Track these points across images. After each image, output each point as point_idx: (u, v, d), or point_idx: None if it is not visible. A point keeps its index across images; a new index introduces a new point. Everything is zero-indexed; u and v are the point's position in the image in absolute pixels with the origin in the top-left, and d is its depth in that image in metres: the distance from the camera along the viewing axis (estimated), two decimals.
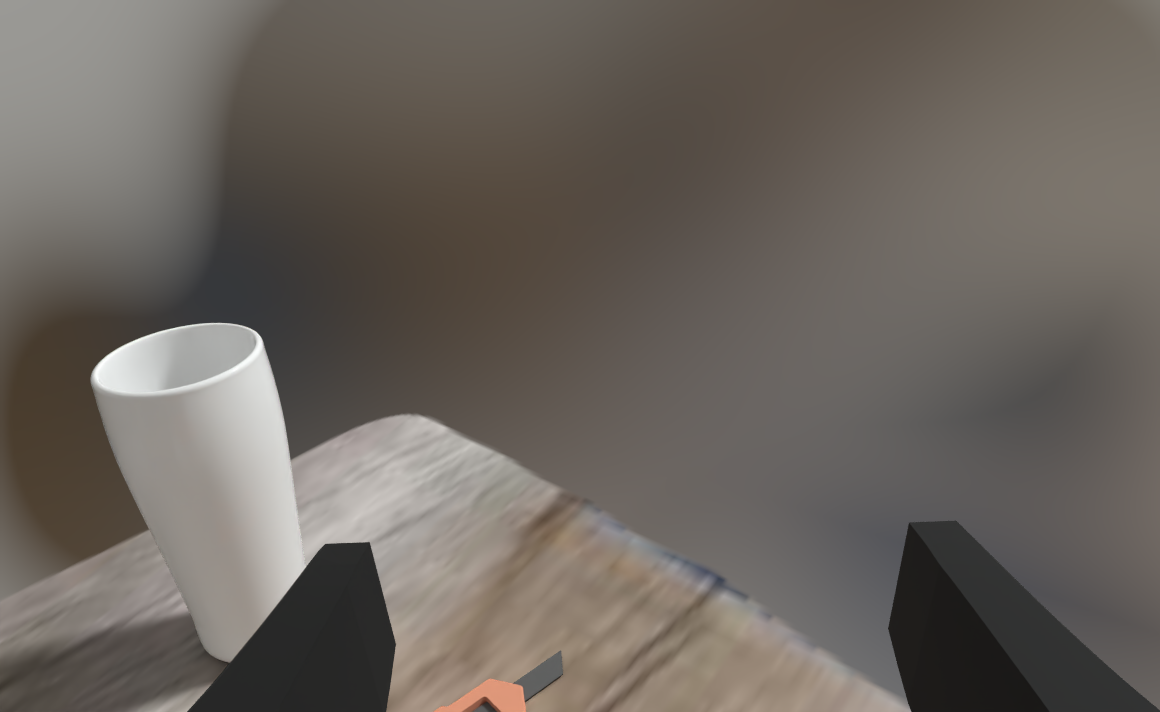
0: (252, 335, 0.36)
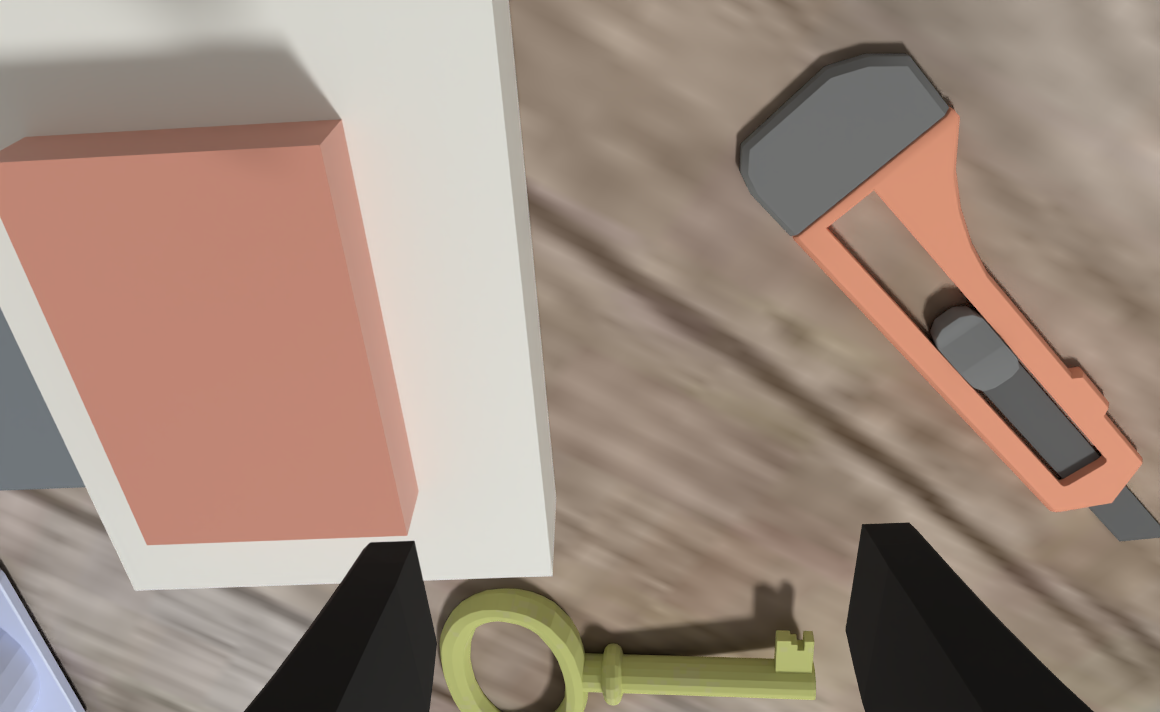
0: None
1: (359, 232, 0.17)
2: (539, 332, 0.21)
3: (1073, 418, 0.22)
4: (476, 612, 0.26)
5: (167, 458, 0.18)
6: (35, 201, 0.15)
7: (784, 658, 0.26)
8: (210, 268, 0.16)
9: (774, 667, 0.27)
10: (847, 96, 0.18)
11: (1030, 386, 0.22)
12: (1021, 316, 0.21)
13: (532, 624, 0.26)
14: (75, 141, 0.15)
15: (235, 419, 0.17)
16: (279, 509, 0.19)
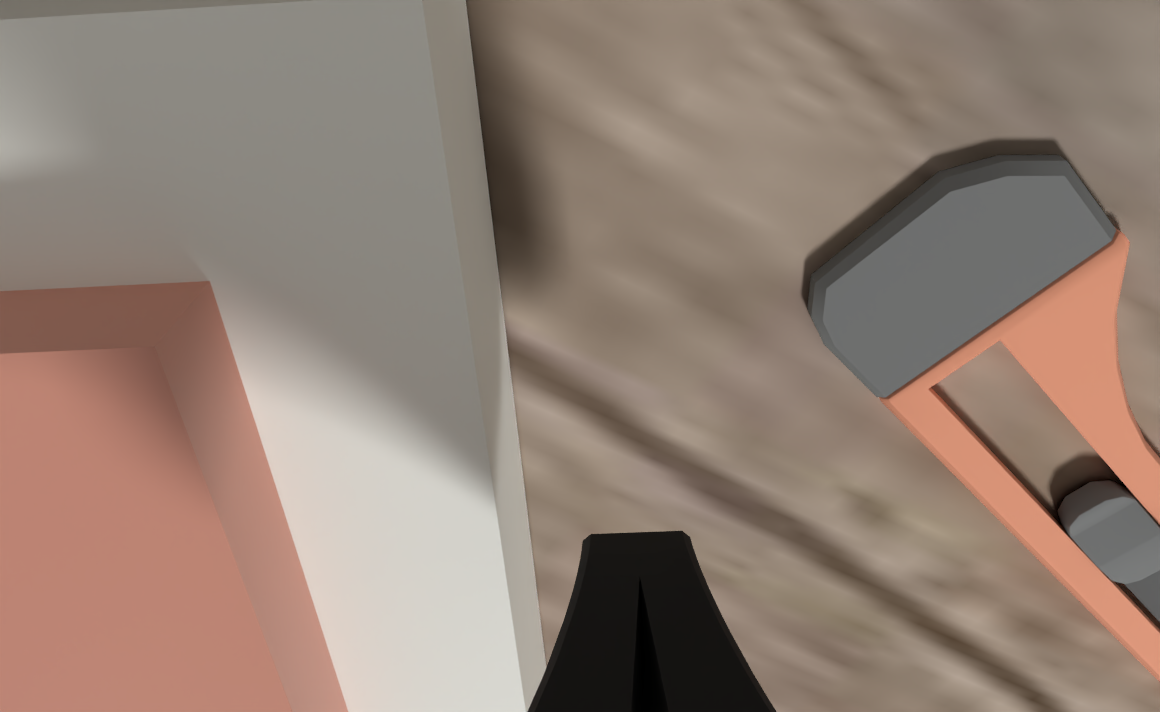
0: None
1: (247, 440, 0.11)
2: (525, 513, 0.16)
3: None
4: None
5: None
6: None
7: None
8: (4, 514, 0.10)
9: None
10: (973, 217, 0.12)
11: None
12: None
13: None
14: None
15: (72, 698, 0.12)
16: None
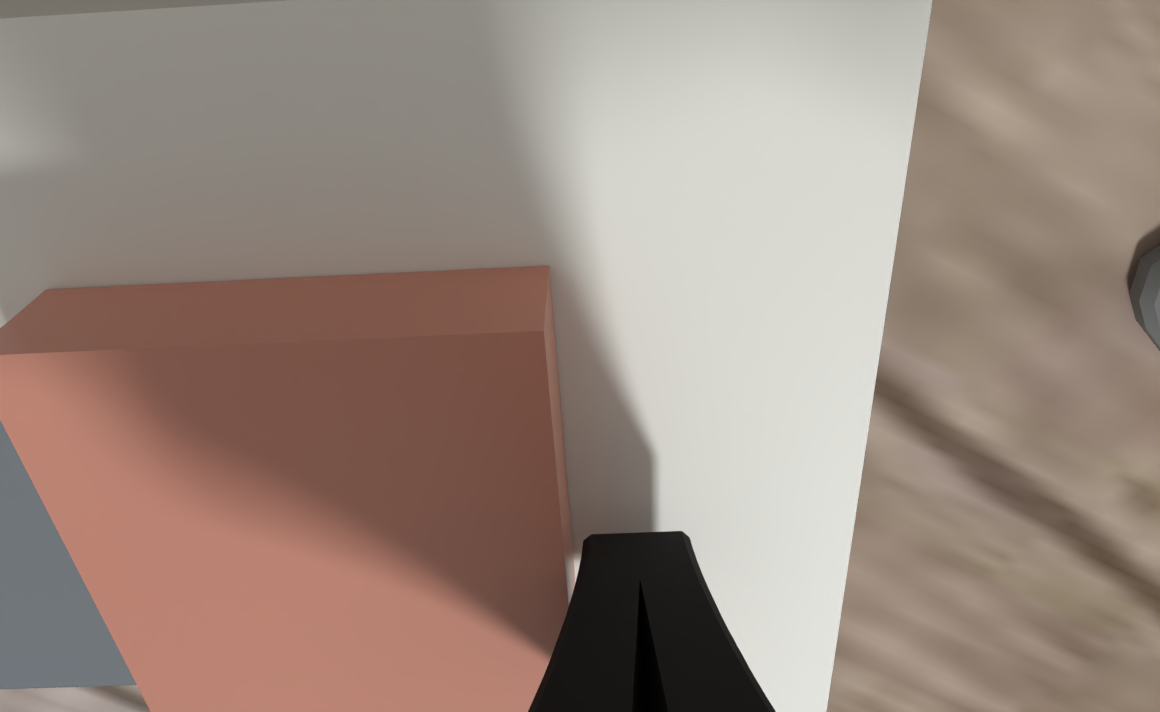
0: None
1: (560, 428, 0.11)
2: None
3: None
4: None
5: None
6: (65, 411, 0.09)
7: None
8: (341, 503, 0.10)
9: None
10: None
11: None
12: None
13: None
14: (127, 304, 0.10)
15: (357, 692, 0.12)
16: None
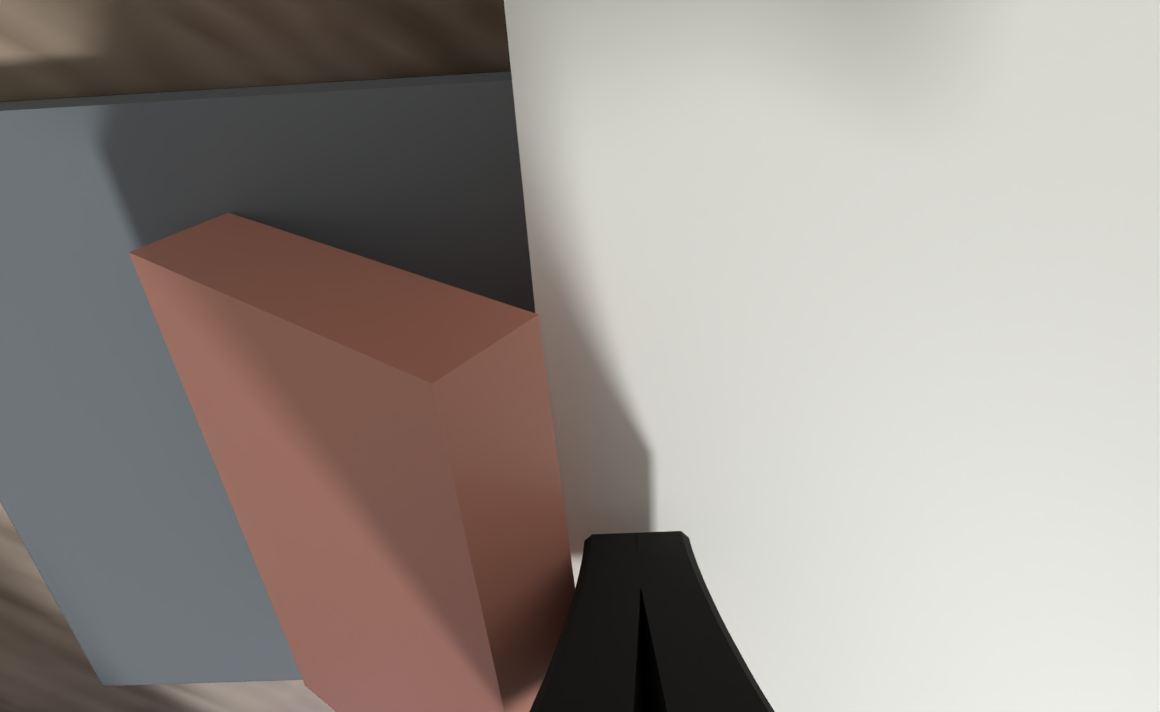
0: None
1: (540, 487, 0.10)
2: None
3: None
4: None
5: (312, 628, 0.14)
6: (175, 314, 0.11)
7: None
8: (325, 471, 0.10)
9: None
10: None
11: None
12: None
13: None
14: (246, 241, 0.11)
15: (364, 638, 0.13)
16: None
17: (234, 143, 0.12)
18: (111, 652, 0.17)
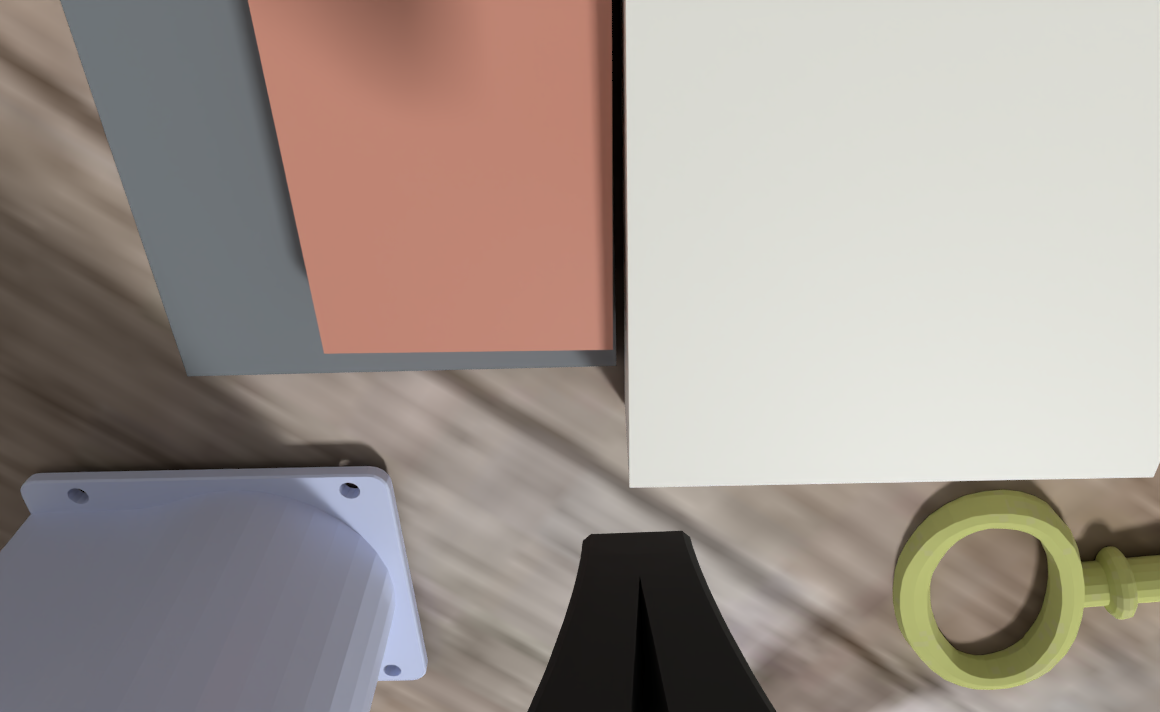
0: None
1: None
2: None
3: None
4: (964, 520, 0.22)
5: (366, 243, 0.16)
6: None
7: None
8: None
9: None
10: None
11: None
12: None
13: (1036, 526, 0.21)
14: None
15: (449, 196, 0.16)
16: (478, 312, 0.17)
17: None
18: (199, 337, 0.19)
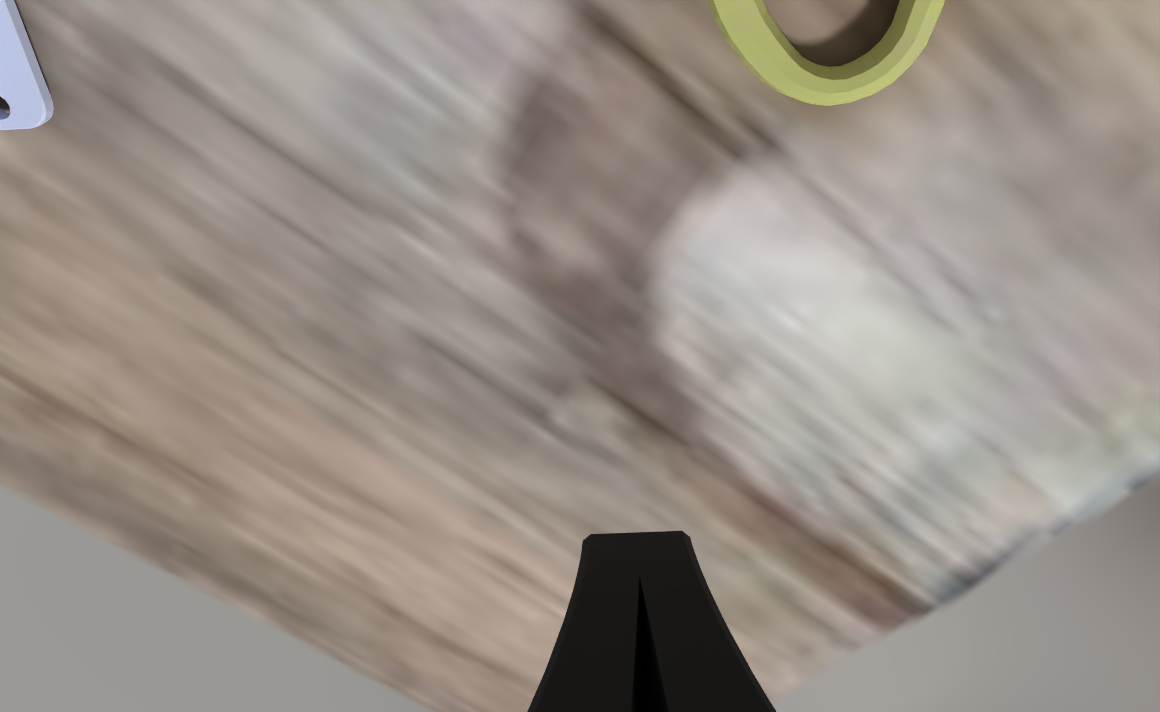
0: None
1: None
2: None
3: None
4: None
5: None
6: None
7: None
8: None
9: None
10: None
11: None
12: None
13: None
14: None
15: None
16: None
17: None
18: None
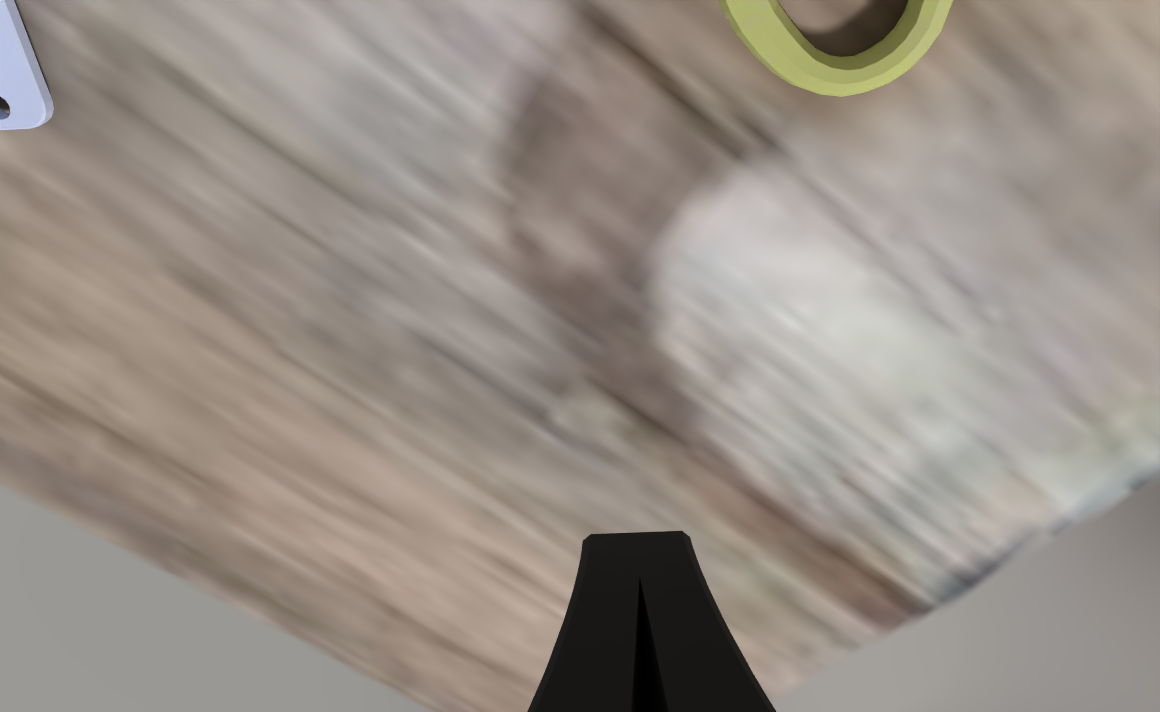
0: None
1: None
2: None
3: None
4: None
5: None
6: None
7: None
8: None
9: None
10: None
11: None
12: None
13: None
14: None
15: None
16: None
17: None
18: None
